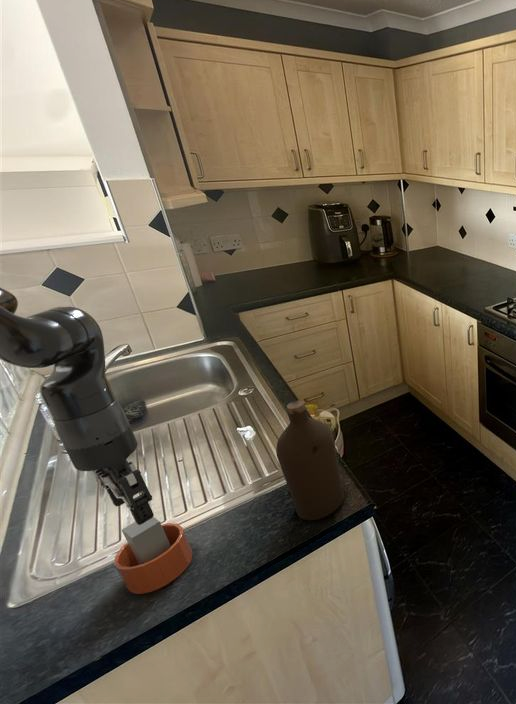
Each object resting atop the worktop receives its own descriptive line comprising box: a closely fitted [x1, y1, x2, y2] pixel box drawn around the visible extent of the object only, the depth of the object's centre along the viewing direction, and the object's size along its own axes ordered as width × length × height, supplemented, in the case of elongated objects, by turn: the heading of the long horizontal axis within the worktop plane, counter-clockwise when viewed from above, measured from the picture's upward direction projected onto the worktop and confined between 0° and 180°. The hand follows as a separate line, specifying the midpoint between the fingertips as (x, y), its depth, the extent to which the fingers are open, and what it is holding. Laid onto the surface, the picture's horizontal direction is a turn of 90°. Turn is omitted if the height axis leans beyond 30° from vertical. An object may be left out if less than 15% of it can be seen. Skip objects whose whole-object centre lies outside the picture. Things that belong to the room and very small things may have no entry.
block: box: [121, 516, 171, 565], centre depth 72 cm, size 4×4×10 cm
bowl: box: [113, 522, 193, 595], centre depth 73 cm, size 9×9×6 cm
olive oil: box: [275, 399, 345, 521], centre depth 84 cm, size 11×11×25 cm
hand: (134, 511), depth 69 cm, fingers open, 8 cm apart
